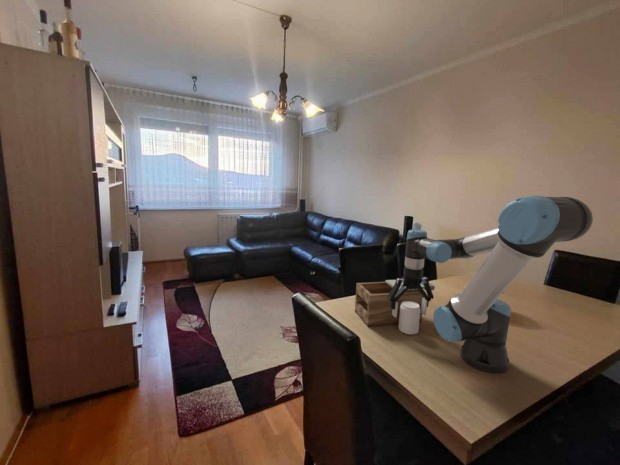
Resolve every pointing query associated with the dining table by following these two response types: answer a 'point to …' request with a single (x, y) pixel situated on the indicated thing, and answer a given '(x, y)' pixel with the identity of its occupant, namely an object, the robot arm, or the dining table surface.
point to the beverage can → (409, 317)
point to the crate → (381, 303)
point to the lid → (392, 283)
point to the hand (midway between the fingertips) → (408, 315)
